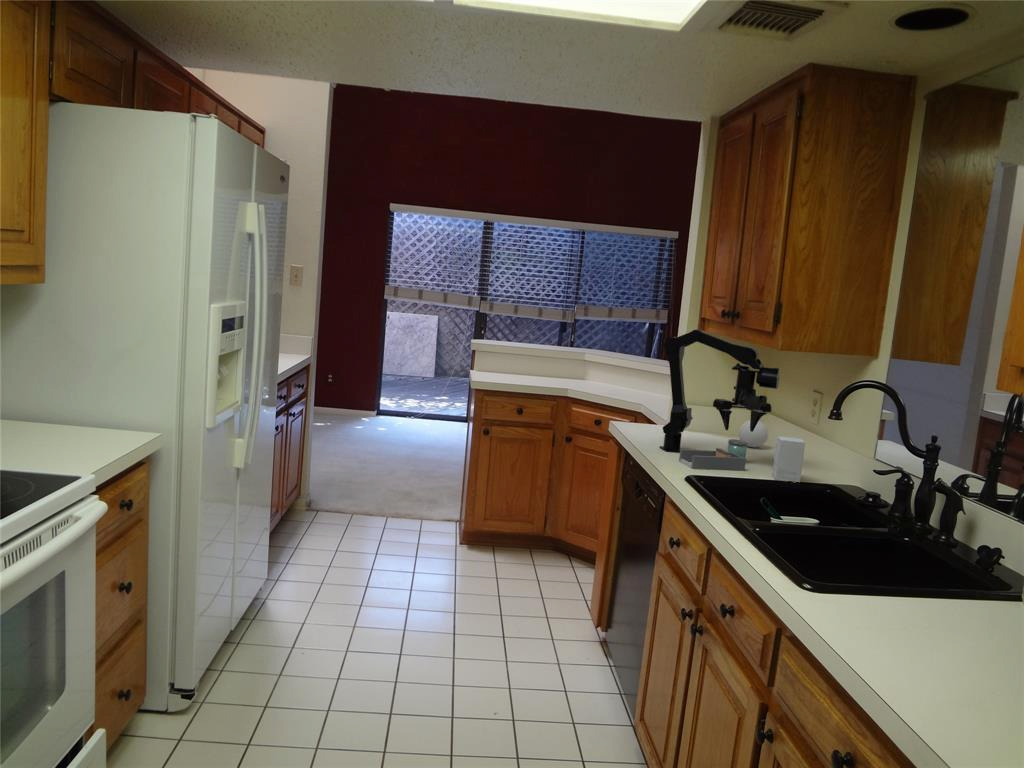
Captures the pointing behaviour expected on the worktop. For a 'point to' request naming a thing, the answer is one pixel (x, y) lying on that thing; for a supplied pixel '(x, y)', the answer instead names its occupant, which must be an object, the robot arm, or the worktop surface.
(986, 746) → the worktop surface
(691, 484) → the worktop surface
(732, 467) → the gray tray
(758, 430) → the ornament
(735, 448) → the jar
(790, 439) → the supplement box
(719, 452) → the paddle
